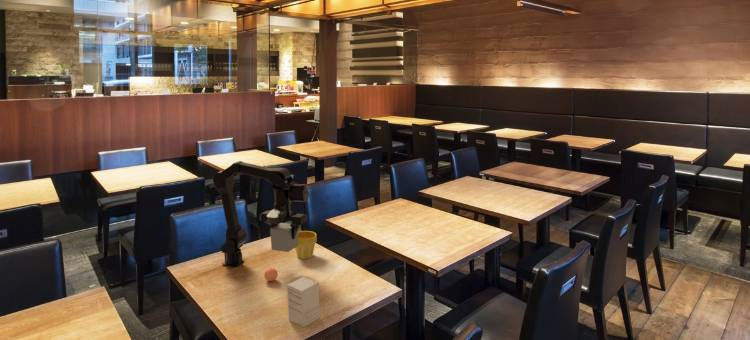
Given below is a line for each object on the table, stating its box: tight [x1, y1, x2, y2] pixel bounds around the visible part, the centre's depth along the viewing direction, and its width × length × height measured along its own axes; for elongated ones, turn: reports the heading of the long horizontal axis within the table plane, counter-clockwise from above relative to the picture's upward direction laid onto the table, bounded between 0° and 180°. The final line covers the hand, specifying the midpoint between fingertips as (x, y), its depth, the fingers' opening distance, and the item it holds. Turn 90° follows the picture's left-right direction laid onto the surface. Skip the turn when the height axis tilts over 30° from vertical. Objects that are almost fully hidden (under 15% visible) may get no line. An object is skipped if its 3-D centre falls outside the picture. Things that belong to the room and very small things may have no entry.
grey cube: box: [269, 222, 299, 253], centre depth 184 cm, size 8×8×9 cm
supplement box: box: [286, 276, 321, 328], centre depth 148 cm, size 7×7×13 cm
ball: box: [263, 267, 279, 282], centre depth 177 cm, size 5×5×5 cm
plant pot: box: [294, 230, 318, 260], centre depth 200 cm, size 10×10×10 cm
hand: (284, 237), depth 185 cm, fingers closed on grey cube, 8 cm apart
